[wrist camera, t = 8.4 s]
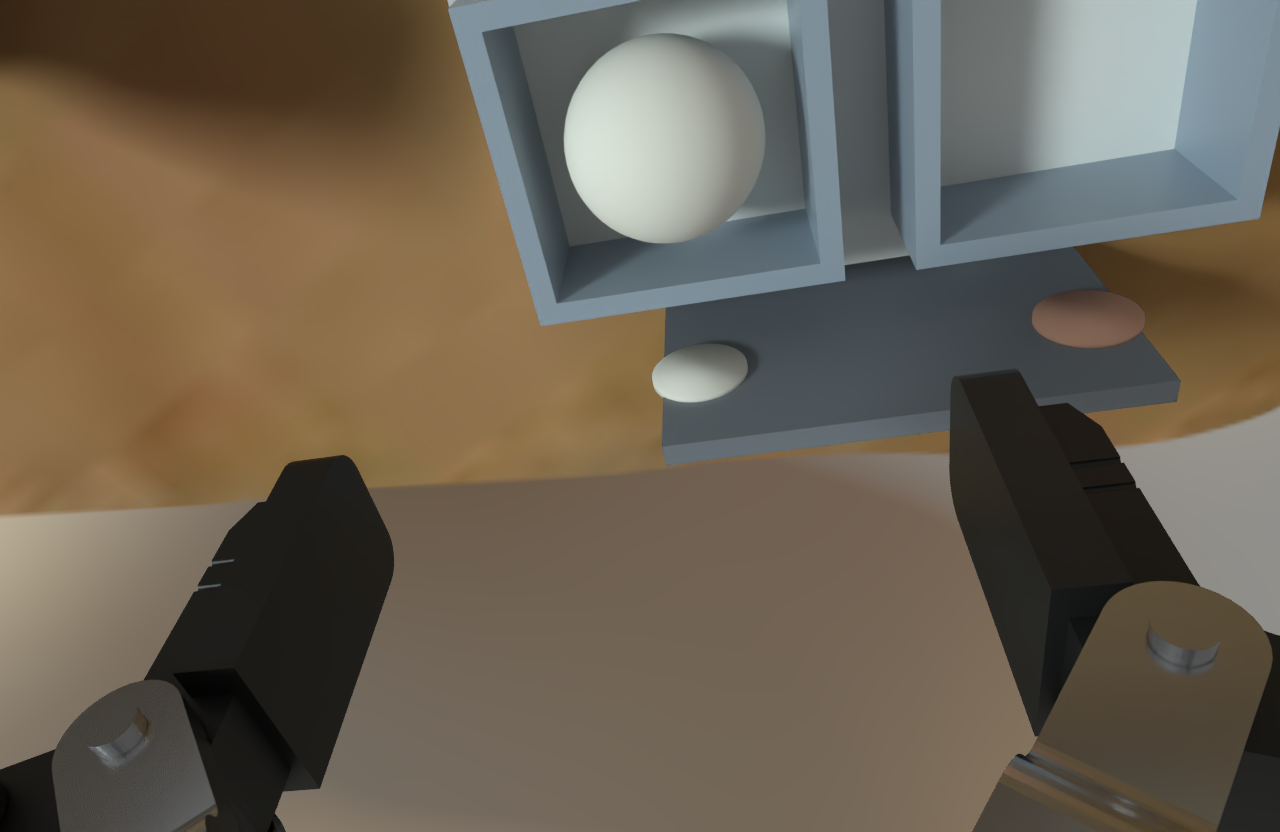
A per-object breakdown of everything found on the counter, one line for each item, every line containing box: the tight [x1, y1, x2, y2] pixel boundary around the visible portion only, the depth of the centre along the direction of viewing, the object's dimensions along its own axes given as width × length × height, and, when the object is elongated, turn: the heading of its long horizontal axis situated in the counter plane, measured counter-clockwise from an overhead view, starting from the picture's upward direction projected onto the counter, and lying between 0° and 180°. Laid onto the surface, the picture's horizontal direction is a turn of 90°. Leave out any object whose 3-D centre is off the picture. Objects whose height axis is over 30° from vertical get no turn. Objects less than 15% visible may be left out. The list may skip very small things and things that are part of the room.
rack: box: [447, 0, 1280, 326], centre depth 23 cm, size 11×20×4 cm, turn 101°
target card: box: [652, 246, 1181, 465], centre depth 25 cm, size 1×13×8 cm, turn 101°
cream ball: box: [564, 33, 765, 244], centre depth 23 cm, size 5×5×5 cm
